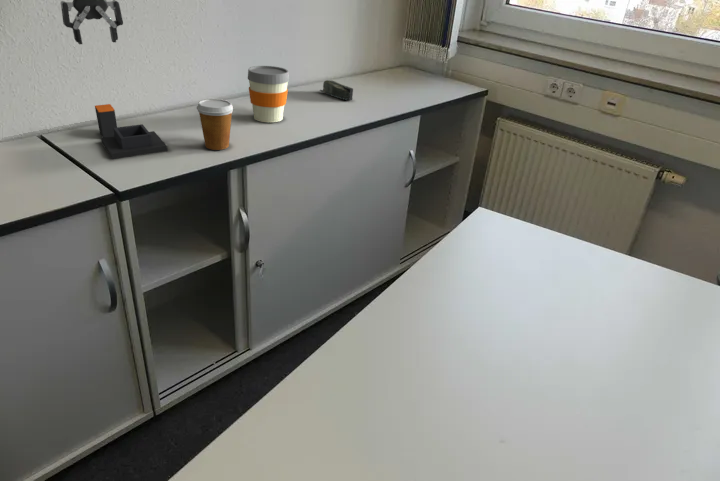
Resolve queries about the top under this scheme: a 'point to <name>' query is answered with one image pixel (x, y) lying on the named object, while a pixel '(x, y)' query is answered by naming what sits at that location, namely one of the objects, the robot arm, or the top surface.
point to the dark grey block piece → (337, 90)
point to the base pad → (132, 142)
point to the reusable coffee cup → (268, 92)
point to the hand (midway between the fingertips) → (97, 42)
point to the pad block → (106, 120)
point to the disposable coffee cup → (215, 122)
